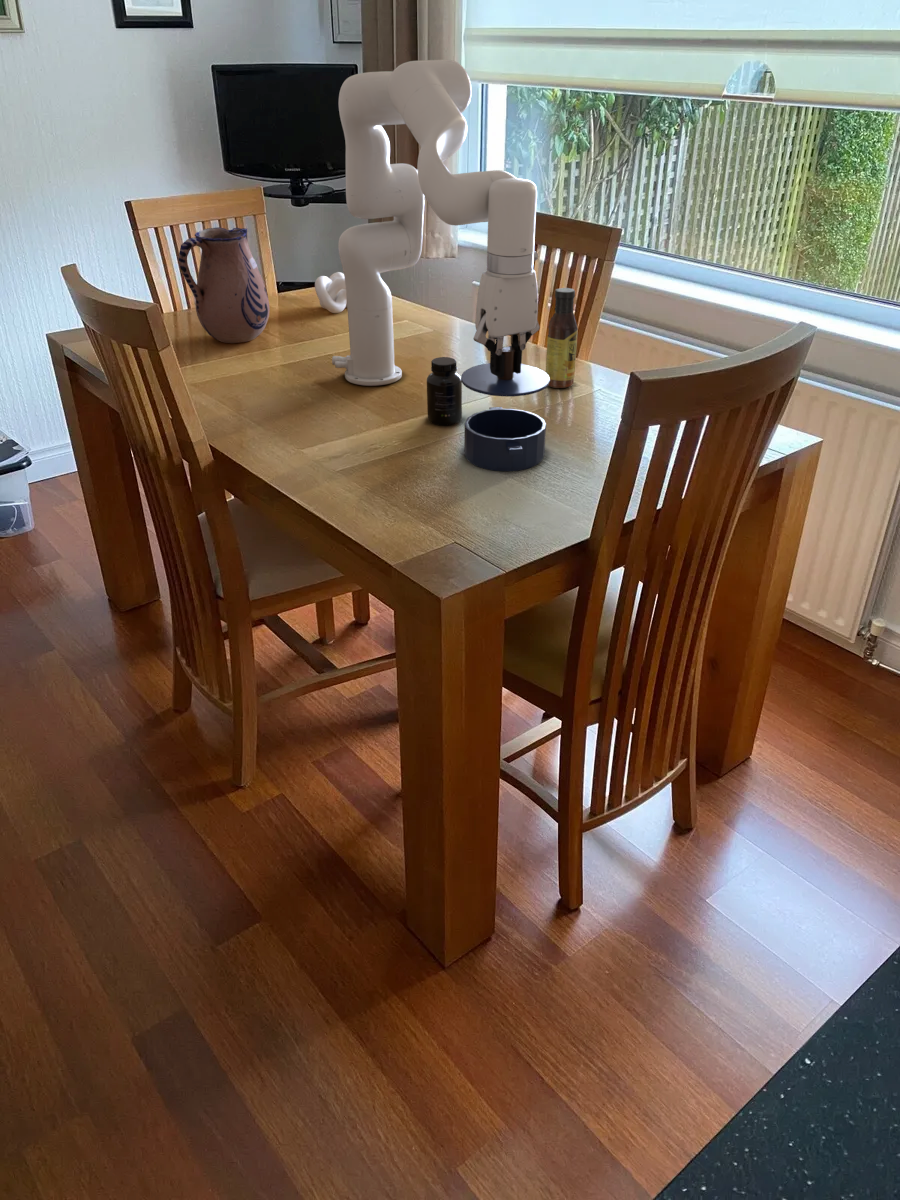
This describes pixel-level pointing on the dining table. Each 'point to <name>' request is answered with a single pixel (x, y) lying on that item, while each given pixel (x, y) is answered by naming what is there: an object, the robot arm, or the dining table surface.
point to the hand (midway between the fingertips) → (505, 372)
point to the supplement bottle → (444, 392)
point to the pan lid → (505, 378)
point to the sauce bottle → (562, 341)
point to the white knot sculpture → (332, 292)
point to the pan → (504, 439)
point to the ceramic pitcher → (227, 285)
